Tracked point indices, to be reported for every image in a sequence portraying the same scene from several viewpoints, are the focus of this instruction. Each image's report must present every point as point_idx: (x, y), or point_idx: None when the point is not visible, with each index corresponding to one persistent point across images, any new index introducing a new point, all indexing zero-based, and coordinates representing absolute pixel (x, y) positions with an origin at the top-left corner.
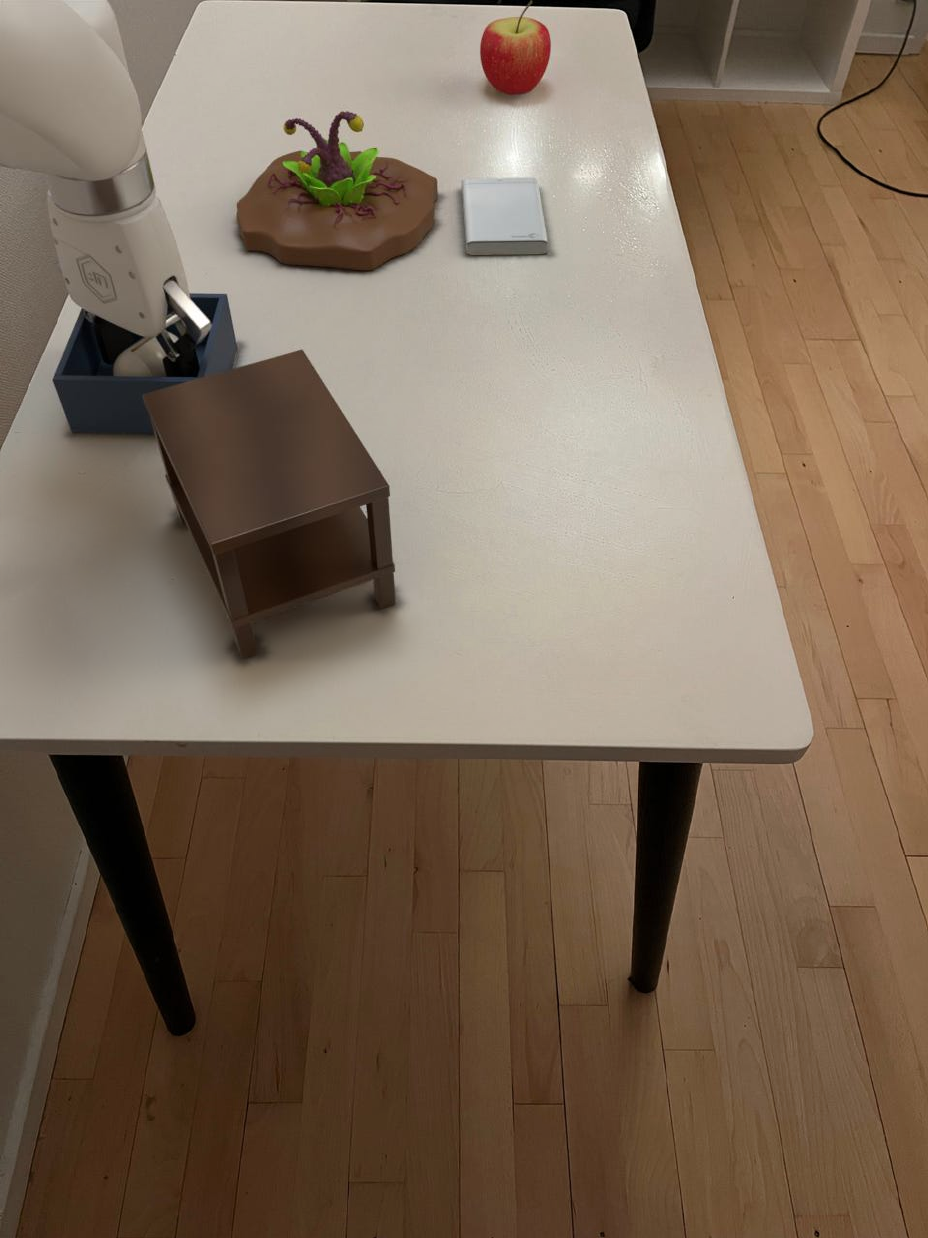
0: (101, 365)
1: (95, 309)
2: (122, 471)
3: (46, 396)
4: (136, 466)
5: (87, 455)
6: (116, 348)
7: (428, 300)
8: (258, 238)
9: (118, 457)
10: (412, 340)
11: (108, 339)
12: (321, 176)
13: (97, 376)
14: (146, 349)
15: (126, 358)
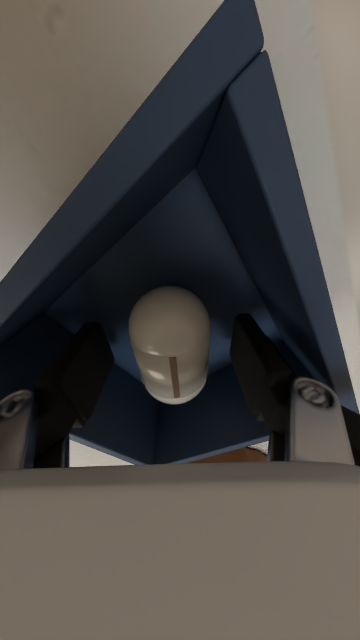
0: (263, 308)
1: (237, 552)
2: (13, 123)
3: (316, 200)
4: (17, 162)
5: (111, 103)
6: (238, 343)
7: (105, 458)
8: (235, 461)
9: (64, 157)
10: (73, 442)
11: (249, 353)
12: None
13: (87, 226)
14: (157, 372)
15: (166, 339)
